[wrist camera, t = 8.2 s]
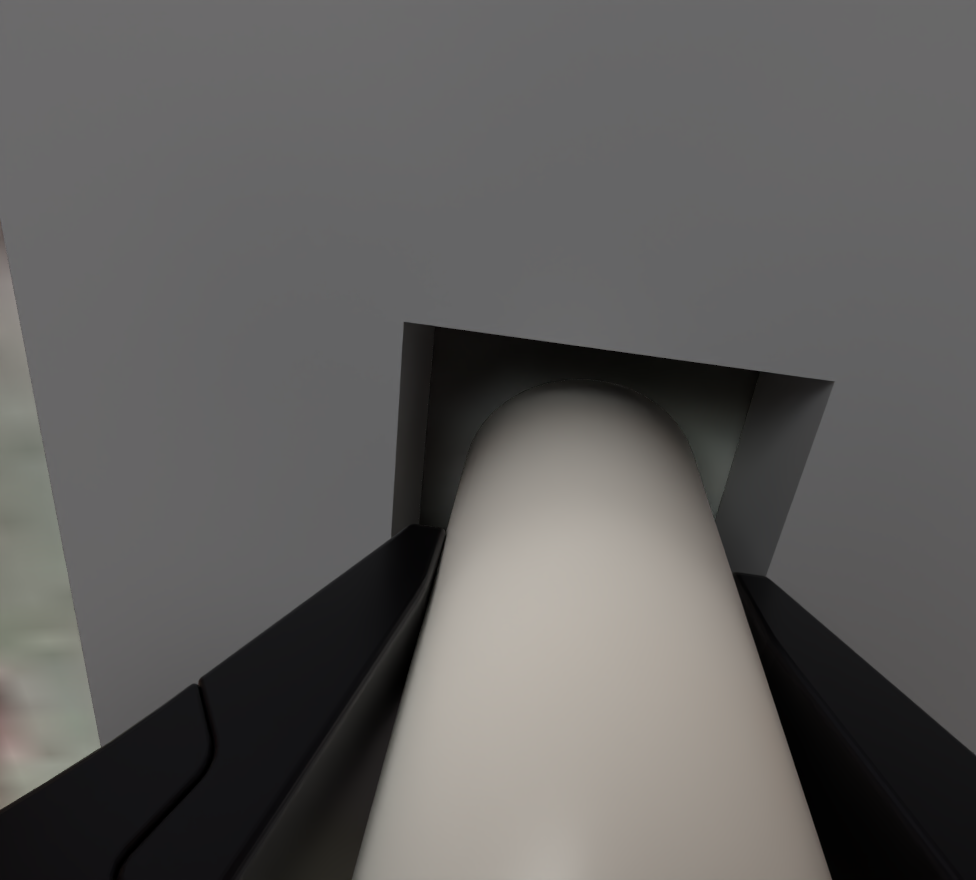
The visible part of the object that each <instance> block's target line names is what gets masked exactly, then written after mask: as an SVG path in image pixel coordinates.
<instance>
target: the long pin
mask: <svg viewBox="0 0 976 880" xmlns="http://www.w3.org/2000/svg"><path fill="white" fill-rule="evenodd" d="M352 880H832V878H831V875H830V872H829V869H828V865H827V862H826V859H825V856H824V853H823V850H822V847H821V844H820V841H819V838H818V835H817V832H816V829H815V826H814V823H813V820H812V817H811V813H810V810H809V807H808V804H807V801H806V798H805V795H804V792H803V789H802V786H801V783H800V780H799V777H798V774H797V771H796V768H795V765H794V761H793V758H792V755H791V752H790V749H789V746H788V743H787V740H786V737H785V734H784V731H783V728H782V725H781V722H780V719H779V716H778V713H777V710H776V706H775V703H774V700H773V697H772V694H771V691H770V688H769V685H768V682H767V679H766V676H765V673H764V670H763V667H762V664H761V661H760V658H759V654H758V651H757V648H756V645H755V642H754V639H753V636H752V633H751V630H750V627H749V624H748V621H747V618H746V615H745V612H744V609H743V606H742V602H741V599H740V596H739V593H738V590H737V587H736V584H735V581H734V578H733V575H732V572H731V569H730V566H729V563H728V560H727V557H726V554H725V550H724V547H723V544H722V541H721V538H720V535H719V532H718V529H717V526H716V523H715V520H714V517H713V514H712V511H711V508H710V505H709V502H708V498H707V495H706V492H705V489H704V486H703V483H702V480H701V477H700V474H699V471H698V468H697V465H696V462H695V459H694V456H693V453H692V450H691V447H690V445H689V443H688V441H687V438H686V437H685V435H684V433H683V432H682V430H681V429H680V427H679V426H678V424H677V423H676V422H675V421H674V420H673V419H672V417H671V416H670V415H669V414H668V413H667V412H666V411H665V410H663V409H662V408H661V407H660V406H659V405H658V404H656V403H655V402H653V401H652V400H650V399H649V398H647V397H646V396H644V395H642V394H640V393H638V392H636V391H634V390H632V389H630V388H627V387H624V386H621V385H618V384H615V383H610V382H605V381H600V380H589V379H571V380H561V381H555V382H550V383H546V384H543V385H539V386H536V387H533V388H531V389H529V390H526V391H524V392H522V393H520V394H518V395H516V396H515V397H513V398H511V399H510V400H508V401H507V402H505V403H504V404H503V405H502V406H500V407H499V408H498V409H497V410H495V411H494V412H493V413H492V415H491V416H490V417H489V418H488V419H487V420H486V421H485V422H484V424H483V425H482V426H481V428H480V429H479V431H478V432H477V434H476V436H475V438H474V439H473V441H472V443H471V446H470V448H469V451H468V454H467V457H466V461H465V465H464V468H463V472H462V476H461V479H460V483H459V487H458V490H457V494H456V498H455V501H454V505H453V509H452V512H451V516H450V520H449V523H448V527H447V531H446V538H445V541H444V545H443V549H442V553H441V556H440V560H439V564H438V567H437V571H436V575H435V579H434V582H433V586H432V590H431V593H430V597H429V601H428V604H427V608H426V611H425V615H424V619H423V622H422V625H421V629H420V632H419V635H418V638H417V642H416V645H415V648H414V652H413V656H412V660H411V663H410V667H409V671H408V674H407V678H406V682H405V685H404V689H403V693H402V696H401V700H400V704H399V707H398V711H397V715H396V718H395V722H394V726H393V729H392V733H391V737H390V740H389V744H388V748H387V752H386V755H385V759H384V763H383V766H382V770H381V774H380V777H379V781H378V785H377V788H376V792H375V796H374V799H373V803H372V807H371V810H370V814H369V818H368V821H367V825H366V829H365V832H364V836H363V840H362V843H361V847H360V851H359V855H358V858H357V862H356V866H355V869H354V873H353V877H352Z"/></svg>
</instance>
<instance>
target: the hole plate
mask: <svg viewBox="0 0 976 880" xmlns="http://www.w3.org/2000/svg"><path fill="white" fill-rule="evenodd" d="M0 220H1V225H2V230H3V236H4V241H5V246H6V251H7V257H8V262H9V267H10V272H11V278H12V283H13V288H14V293H15V299H16V304H17V309H18V314H19V320H20V325H21V330H22V335H23V341H24V346H25V351H26V356H27V362H28V367H29V372H30V377H31V383H32V388H33V393H34V398H35V404H36V409H37V414H38V419H39V425H40V430H41V435H42V440H43V446H44V451H45V456H46V461H47V467H48V472H49V477H50V482H51V488H52V493H53V498H54V503H55V509H56V514H57V519H58V524H59V530H60V535H61V540H62V545H63V551H64V556H65V561H66V566H67V572H68V577H69V582H70V587H71V593H72V598H73V603H74V608H75V613H76V619H77V624H78V629H79V634H80V640H81V645H82V650H83V655H84V661H85V666H86V671H87V676H88V682H89V687H90V692H91V697H92V703H93V708H94V713H95V718H96V724H97V729H98V734H99V739H100V745H101V747H102V746H104V745H106V744H107V743H109V742H110V741H112V740H113V739H114V738H116V737H117V736H119V735H120V734H122V733H123V732H125V731H126V730H127V729H129V728H130V727H132V726H133V725H135V724H136V723H137V722H139V721H140V720H142V719H143V718H145V717H146V716H148V715H149V714H150V713H152V712H153V711H155V710H156V709H158V708H159V707H161V706H162V705H163V704H165V703H166V702H167V701H169V700H170V699H171V698H173V697H174V696H176V695H177V694H178V693H180V692H181V691H182V690H184V689H185V688H186V687H188V686H189V685H191V684H193V683H195V684H198V681H199V679H200V678H201V677H202V676H203V675H205V674H206V673H207V672H209V671H210V670H212V669H213V668H214V667H216V666H217V665H218V664H220V663H221V662H222V661H224V660H225V659H227V658H228V657H229V656H231V655H232V654H233V653H235V652H236V651H238V650H239V649H240V648H242V647H243V646H244V645H246V644H247V643H248V642H250V641H251V640H253V639H254V638H255V637H257V636H258V635H259V634H261V633H262V632H263V631H265V630H266V629H268V628H269V627H270V626H272V625H273V624H274V623H276V622H277V621H278V620H280V619H281V618H283V617H284V616H285V615H287V614H288V613H289V612H291V611H292V610H293V609H295V608H296V607H298V606H299V605H300V604H302V603H303V602H304V601H306V600H307V599H308V598H310V597H311V596H313V595H314V594H315V593H317V592H318V591H319V590H321V589H322V588H323V587H325V586H326V585H328V584H329V583H330V582H332V581H333V580H334V579H336V578H337V577H339V576H340V575H341V574H343V573H344V572H345V571H347V570H348V569H349V568H351V567H352V566H354V565H355V564H356V563H358V562H359V561H360V560H362V559H363V558H364V557H366V556H367V555H369V554H370V553H371V552H373V551H374V550H375V549H377V548H378V547H379V546H381V545H382V544H384V543H385V542H386V541H388V540H389V539H390V538H392V537H393V536H394V535H396V534H397V533H399V532H400V531H401V530H403V529H404V528H405V527H407V526H408V525H411V524H419V519H420V506H421V494H422V481H423V468H424V456H425V443H426V431H427V418H428V406H429V393H430V381H431V368H432V356H433V343H434V331H435V326H439V327H446V328H453V329H460V330H468V331H475V332H482V333H489V334H496V335H504V336H511V337H518V338H525V339H532V340H540V341H547V342H554V343H561V344H568V345H576V346H583V347H590V348H597V349H604V350H612V351H619V352H626V353H633V354H640V355H648V356H655V357H662V358H669V359H676V360H684V361H691V362H698V363H705V364H713V365H720V366H727V367H734V368H741V369H749V370H756V371H760V374H759V377H758V380H757V384H756V387H755V390H754V394H753V397H752V400H751V404H750V407H749V410H748V414H747V417H746V420H745V423H744V427H743V430H742V433H741V437H740V440H739V443H738V447H737V450H736V453H735V457H734V460H733V463H732V467H731V470H730V473H729V477H728V480H727V483H726V487H725V490H724V493H723V497H722V500H721V503H720V506H719V510H718V513H717V516H716V520H715V523H716V526H717V529H718V532H719V535H720V538H721V541H722V544H723V547H724V550H725V554H726V557H727V560H728V563H729V566H730V569H731V572H742V573H749V574H755V575H762V576H766V577H768V578H769V579H771V580H772V581H773V582H774V583H775V584H777V585H778V586H779V587H780V588H781V589H782V590H784V591H785V592H786V593H787V594H788V595H789V596H791V597H792V598H793V599H794V600H795V601H796V602H798V603H799V604H800V605H801V606H802V607H803V608H805V609H806V610H807V611H808V612H809V613H810V614H812V615H813V616H814V617H815V618H816V619H817V620H819V621H820V622H821V623H822V624H823V625H824V626H826V627H827V628H828V629H829V630H830V631H831V632H833V633H834V634H835V635H836V636H837V637H838V638H840V639H841V640H842V641H843V642H844V643H845V644H847V645H848V646H849V647H850V648H851V649H852V650H854V651H855V652H856V653H857V654H858V655H859V656H861V657H862V658H863V659H864V660H865V661H867V662H868V663H869V664H870V665H871V666H872V667H874V668H875V669H876V670H877V671H878V672H879V673H881V674H882V675H883V676H884V677H885V678H886V679H888V680H889V681H890V682H891V683H892V684H893V685H895V686H896V687H897V688H898V689H899V690H900V691H902V692H903V693H904V694H905V695H906V696H907V697H909V698H910V699H911V700H912V701H913V702H914V703H916V704H917V705H918V706H919V707H920V708H921V709H923V710H924V711H925V712H926V713H927V714H928V715H930V716H931V717H932V718H933V719H934V720H935V721H937V722H938V723H939V724H940V725H941V726H942V727H944V728H945V729H946V730H947V731H948V732H949V733H951V734H952V735H953V736H954V737H955V738H956V739H958V740H959V741H960V742H961V743H962V744H963V745H965V746H966V747H967V748H968V749H969V750H970V751H972V752H973V753H974V754H975V755H976V0H0Z"/></svg>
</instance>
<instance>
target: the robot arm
mask: <svg viewBox="0 0 976 880" xmlns="http://www.w3.org/2000/svg"><path fill="white" fill-rule="evenodd" d="M445 538H446V532H445V530H444V529H443V528H440V527H433V526H426V525H420V524H411V525H408V526H407V527H405V528H404V529H403V530H401V531H400V532H399V533H397V534H396V535H394V536H393V537H392V538H390V539H389V540H388V541H386V542H385V543H384V544H382V545H381V546H379V547H378V548H377V549H375V550H374V551H373V552H371V553H370V554H369V555H367V556H366V557H364V558H363V559H362V560H360V561H359V562H358V563H356V564H355V565H354V566H352V567H351V568H349V569H348V570H347V571H345V572H344V573H343V574H341V575H340V576H339V577H337V578H336V579H334V580H333V581H332V582H330V583H329V584H328V585H326V586H325V587H323V588H322V589H321V590H319V591H318V592H317V593H315V594H314V595H313V596H311V597H310V598H308V599H307V600H306V601H304V602H303V603H302V604H300V605H299V606H298V607H296V608H295V609H293V610H292V611H291V612H289V613H288V614H287V615H285V616H284V617H283V618H281V619H280V620H278V621H277V622H276V623H274V624H273V625H272V626H270V627H269V628H268V629H266V630H265V631H263V632H262V633H261V634H259V635H258V636H257V637H255V638H254V639H253V640H251V641H250V642H248V643H247V644H246V645H244V646H243V647H242V648H240V649H239V650H238V651H236V652H235V653H233V654H232V655H231V656H229V657H228V658H227V659H225V660H224V661H222V662H221V663H220V664H218V665H217V666H216V667H214V668H213V669H212V670H210V671H209V672H207V673H206V674H205V675H203V676H202V677H201V678H200V679H199V681H198V684H195V683H193V684H191V685H189V686H188V687H186V688H185V689H184V690H182V691H181V692H180V693H178V694H177V695H176V696H174V697H173V698H171V699H170V700H169V701H167V702H166V703H165V704H163V705H162V706H161V707H159V708H158V709H156V710H155V711H153V712H152V713H150V714H149V715H148V716H146V717H145V718H143V719H142V720H140V721H139V722H137V723H136V724H135V725H133V726H132V727H130V728H129V729H127V730H126V731H125V732H123V733H122V734H120V735H119V736H117V737H116V738H114V739H113V740H112V741H110V742H109V743H107V744H106V745H104V746H102V747H101V748H99V749H98V750H96V751H94V752H93V753H91V754H90V755H88V756H87V757H85V758H83V759H82V760H80V761H79V762H77V763H75V764H74V765H72V766H71V767H69V768H68V769H66V770H64V771H63V772H61V773H60V774H58V775H56V776H55V777H53V778H52V779H50V780H49V781H47V782H45V783H44V784H42V785H41V786H39V787H37V788H36V789H34V790H32V791H31V792H29V793H27V794H26V795H24V796H22V797H21V798H19V799H17V800H16V801H14V802H12V803H11V804H9V805H7V806H6V807H4V808H2V809H1V810H0V880H352V877H353V873H354V869H355V866H356V862H357V858H358V855H359V851H360V847H361V843H362V840H363V836H364V832H365V829H366V825H367V821H368V818H369V814H370V810H371V807H372V803H373V799H374V796H375V792H376V788H377V785H378V781H379V777H380V774H381V770H382V766H383V763H384V759H385V755H386V752H387V748H388V744H389V740H390V737H391V733H392V729H393V726H394V722H395V718H396V715H397V711H398V707H399V704H400V700H401V696H402V693H403V689H404V685H405V682H406V678H407V674H408V671H409V667H410V663H411V660H412V656H413V652H414V648H415V645H416V642H417V638H418V635H419V632H420V629H421V625H422V622H423V619H424V615H425V611H426V608H427V604H428V601H429V597H430V593H431V590H432V586H433V582H434V579H435V575H436V571H437V567H438V564H439V560H440V556H441V553H442V549H443V545H444V541H445ZM732 575H733V578H734V581H735V584H736V587H737V590H738V593H739V596H740V599H741V602H742V606H743V609H744V612H745V615H746V618H747V621H748V624H749V627H750V630H751V633H752V636H753V639H754V642H755V645H756V648H757V651H758V654H759V658H760V661H761V664H762V667H763V670H764V673H765V676H766V679H767V682H768V685H769V688H770V691H771V694H772V697H773V700H774V703H775V706H776V710H777V713H778V716H779V719H780V722H781V725H782V728H783V731H784V734H785V737H786V740H787V743H788V746H789V749H790V752H791V755H792V758H793V761H794V765H795V768H796V771H797V774H798V777H799V780H800V783H801V786H802V789H803V792H804V795H805V798H806V801H807V804H808V807H809V810H810V813H811V817H812V820H813V823H814V826H815V829H816V832H817V835H818V838H819V841H820V844H821V847H822V850H823V853H824V856H825V859H826V862H827V865H828V869H829V872H830V875H831V878H832V880H976V755H975V754H974V753H973V752H972V751H970V750H969V749H968V748H967V747H966V746H965V745H963V744H962V743H961V742H960V741H959V740H958V739H956V738H955V737H954V736H953V735H952V734H951V733H949V732H948V731H947V730H946V729H945V728H944V727H942V726H941V725H940V724H939V723H938V722H937V721H935V720H934V719H933V718H932V717H931V716H930V715H928V714H927V713H926V712H925V711H924V710H923V709H921V708H920V707H919V706H918V705H917V704H916V703H914V702H913V701H912V700H911V699H910V698H909V697H907V696H906V695H905V694H904V693H903V692H902V691H900V690H899V689H898V688H897V687H896V686H895V685H893V684H892V683H891V682H890V681H889V680H888V679H886V678H885V677H884V676H883V675H882V674H881V673H879V672H878V671H877V670H876V669H875V668H874V667H872V666H871V665H870V664H869V663H868V662H867V661H865V660H864V659H863V658H862V657H861V656H859V655H858V654H857V653H856V652H855V651H854V650H852V649H851V648H850V647H849V646H848V645H847V644H845V643H844V642H843V641H842V640H841V639H840V638H838V637H837V636H836V635H835V634H834V633H833V632H831V631H830V630H829V629H828V628H827V627H826V626H824V625H823V624H822V623H821V622H820V621H819V620H817V619H816V618H815V617H814V616H813V615H812V614H810V613H809V612H808V611H807V610H806V609H805V608H803V607H802V606H801V605H800V604H799V603H798V602H796V601H795V600H794V599H793V598H792V597H791V596H789V595H788V594H787V593H786V592H785V591H784V590H782V589H781V588H780V587H779V586H778V585H777V584H775V583H774V582H773V581H772V580H771V579H769V578H768V577H766V576H762V575H755V574H749V573H742V572H732Z"/></svg>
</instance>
